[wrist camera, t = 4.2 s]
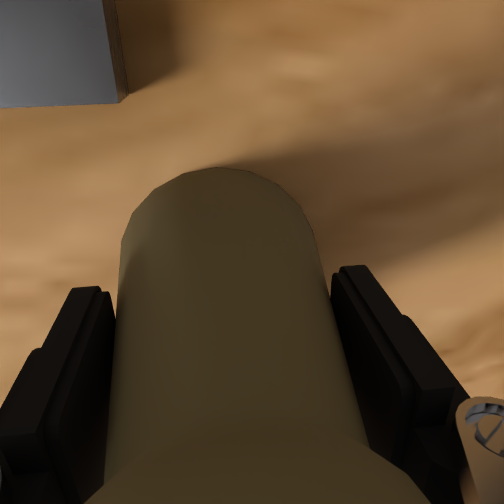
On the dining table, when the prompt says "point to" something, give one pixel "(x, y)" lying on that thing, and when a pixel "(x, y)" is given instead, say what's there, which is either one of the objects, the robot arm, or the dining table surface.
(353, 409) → the olive game pawn
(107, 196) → the dining table surface
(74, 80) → the socket
